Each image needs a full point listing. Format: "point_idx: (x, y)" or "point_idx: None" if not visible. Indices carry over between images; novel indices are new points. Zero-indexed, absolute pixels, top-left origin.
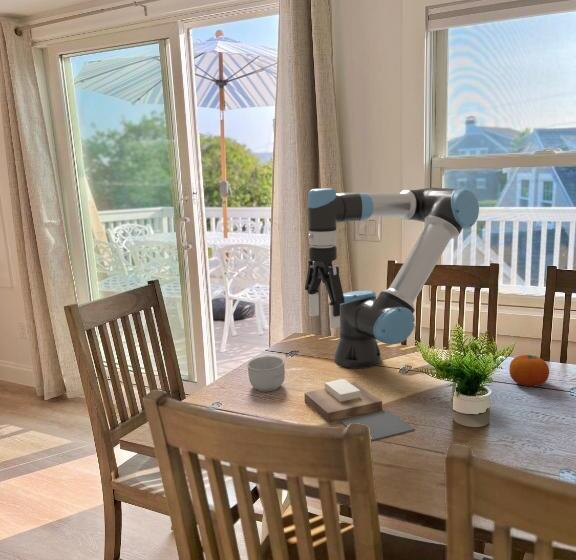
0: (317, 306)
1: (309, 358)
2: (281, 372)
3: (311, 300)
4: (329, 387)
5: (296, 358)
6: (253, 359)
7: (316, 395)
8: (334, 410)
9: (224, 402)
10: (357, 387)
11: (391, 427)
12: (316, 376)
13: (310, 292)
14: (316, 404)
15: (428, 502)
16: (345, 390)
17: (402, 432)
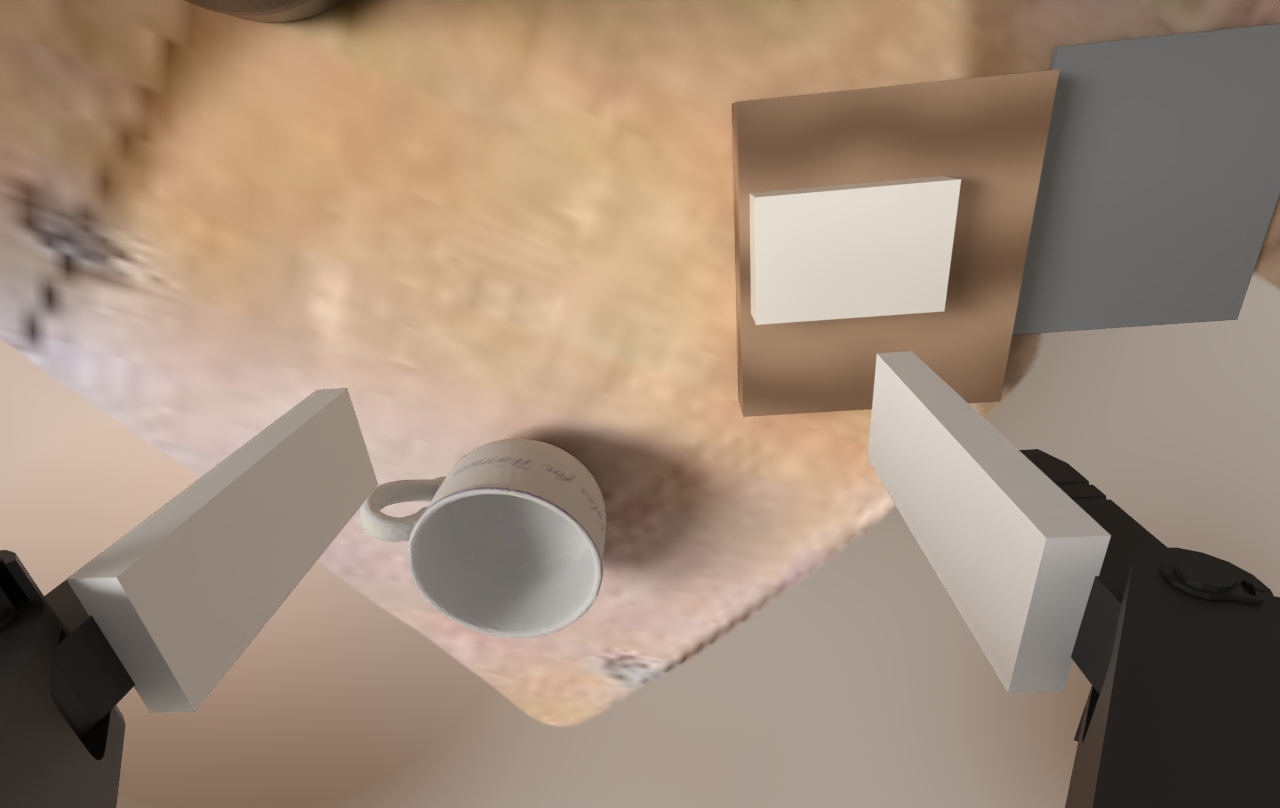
0: (284, 460)
1: (165, 164)
2: (580, 498)
3: (255, 609)
4: (812, 318)
5: (161, 241)
6: (429, 599)
7: (799, 378)
8: (995, 365)
9: (620, 647)
10: (812, 125)
11: (1231, 138)
12: (463, 235)
13: (112, 719)
14: None
15: None
16: (912, 262)
17: None
